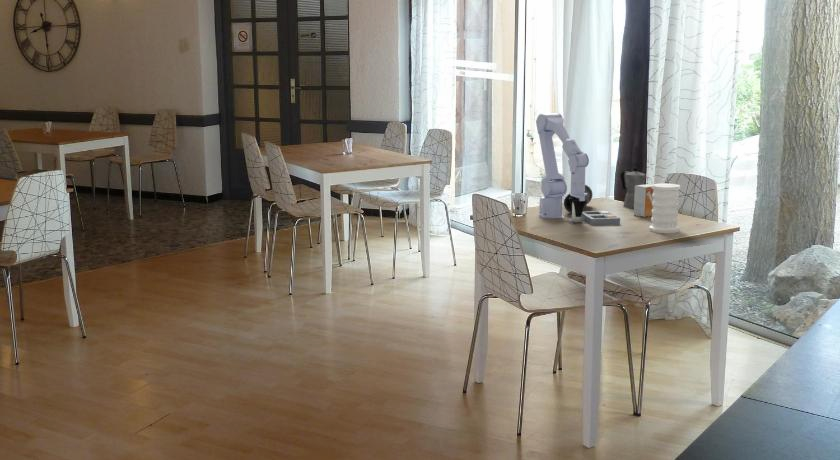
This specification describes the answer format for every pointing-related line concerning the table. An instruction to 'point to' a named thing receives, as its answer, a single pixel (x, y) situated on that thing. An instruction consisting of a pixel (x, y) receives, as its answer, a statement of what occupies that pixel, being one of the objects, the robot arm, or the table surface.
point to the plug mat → (577, 222)
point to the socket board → (600, 218)
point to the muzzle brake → (566, 201)
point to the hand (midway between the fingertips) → (576, 215)
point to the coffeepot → (631, 185)
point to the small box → (643, 200)
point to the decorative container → (665, 208)
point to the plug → (574, 218)
